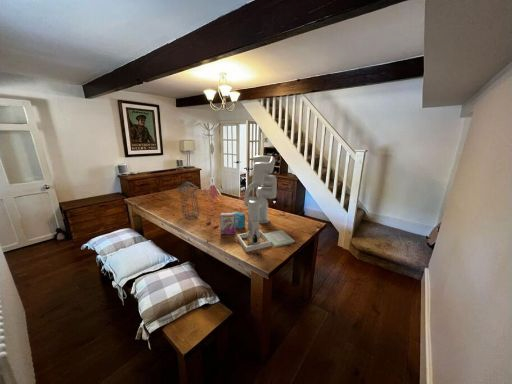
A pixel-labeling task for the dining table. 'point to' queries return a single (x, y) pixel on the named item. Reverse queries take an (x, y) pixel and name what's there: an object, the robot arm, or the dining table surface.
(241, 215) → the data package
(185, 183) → the geometric lantern
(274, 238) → the sage board
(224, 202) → the dining table surface
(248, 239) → the beech box
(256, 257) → the dining table surface
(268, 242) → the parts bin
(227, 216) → the candy bar box
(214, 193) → the figurine
